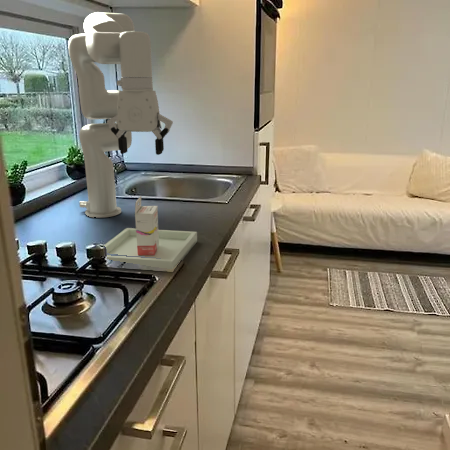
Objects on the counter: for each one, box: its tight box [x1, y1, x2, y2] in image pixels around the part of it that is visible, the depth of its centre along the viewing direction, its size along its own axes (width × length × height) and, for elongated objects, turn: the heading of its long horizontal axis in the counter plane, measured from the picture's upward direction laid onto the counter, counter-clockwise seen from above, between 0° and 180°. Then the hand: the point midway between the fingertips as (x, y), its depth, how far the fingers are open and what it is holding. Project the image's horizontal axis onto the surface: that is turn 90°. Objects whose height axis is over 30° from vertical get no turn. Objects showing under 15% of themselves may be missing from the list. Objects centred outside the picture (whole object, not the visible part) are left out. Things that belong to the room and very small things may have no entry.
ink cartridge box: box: [134, 195, 159, 255], centre depth 130 cm, size 9×5×15 cm, turn 0°
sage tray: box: [103, 227, 198, 269], centre depth 132 cm, size 22×24×3 cm
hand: (141, 153), depth 124 cm, fingers open, 9 cm apart
